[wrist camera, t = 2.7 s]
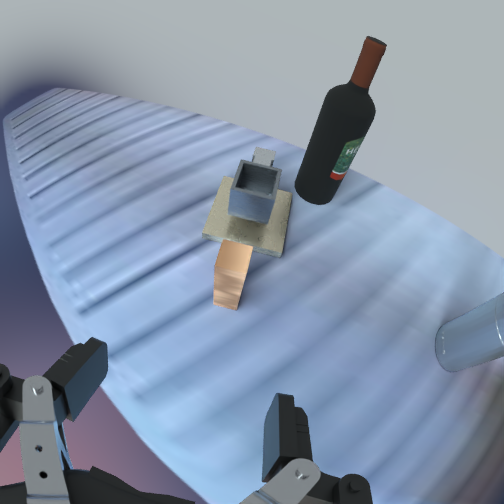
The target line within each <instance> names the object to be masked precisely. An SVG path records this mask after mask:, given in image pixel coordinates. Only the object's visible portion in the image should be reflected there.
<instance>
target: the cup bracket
mask: <svg viewBox="0 0 504 504" xmlns="http://www.w3.org/2000/svg"><path fill="white" fill-rule="evenodd" d="M275 153H276V152H275V151H271V150H267V149H263V148H259V147H256V148H255V151H254V154H253V159H252V162H249V161H245V160H241V161H240V164H239V166H238V169H237V172H236V175H235V177H234V178H230V177H226V176H224V177H223V180H222V182H221V185H220V187H219V190H218V192H217V195H216V198H215V200H214V203H213V206H212V208H211V211H210V213H209V216H208V219H207V221H206V224H205V227H204V230H203V232H202V238H204V239H208V240H212V241H216V242H220V243H222V241H223V239H225V240H229V241H233V242H237V243H241V244H245V245H249V246H253V249H252V251H255V252H259V253H263V254H267V255H271V256H275V257H279V258H280V256H281V254H282V250H283V245H284V239H285V233H286V228H287V222H288V216H289V211H290V205H291V199H292V193H290V192H286V191H283V190H279V189H278V185H279V181H280V176H281V171H282V170H281V169H278V168H274V167H272V165H273V161H274V157H275Z"/></svg>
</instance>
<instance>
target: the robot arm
mask: <svg viewBox="0 0 504 504" xmlns="http://www.w3.org/2000/svg"><path fill="white" fill-rule="evenodd" d="M435 348H436V355H437V358H438V361H439V362H440V364H441V366H442V367H443V368H444V369H445V370H447V371H450V372H455V371H459V370H463V369H466V368H470V367H473V366H476V365H479V364H483V363H486V362H489V361H492V360H494V359H497V358H500V357H503V356H504V292H503V293H501V294H500V295H498V296H496V297H495V298H493V299H491V300H489V301H488V302H486V303H484V304H482V305H481V306H479V307H477V308H475V309H473V310H471V311H470V312H468V313H466V314H464V315H462V316H460V317H458V318H456V319H454V320H452V321H450V322H448V323H446V324H444V325H443V326H442V327H441V328H440V329H439V331H438V333H437V336H436V343H435ZM107 371H108V354H107V344H106V343H105V342H103V341H100V340H98V339H96V338H93V337H91V338H90V339H89V340H88V341H87V342H86V343H85V344H82V343H79V344H76V345H74V346H72V347H71V348H70V349H68V350H67V352H66V353H65V354H64V355H63V356H61V358H60V359H58V361H56V362H55V364H54V365H53V366H52V367H51V368H50V369H49V370H48V371H47V372H46V373H45V374H44V375H43V376H31V377H29V378H27V379H26V380H24V379H20V378H17V377H14V376H11V375H10V372H9V369H8V368H7V367H6V366H5V365H3V364H0V452H1V451H2V449H3V448H4V446H5V445H6V443H7V442H8V440H9V439H10V438H11V436H12V435H13V433H14V432H15V430H16V429H17V427H18V426H19V429H20V430H19V431H20V445H21V455H22V462H23V470H24V477H25V481H24V482H19V483H15V484H10V485H5V486H0V504H195V502H193V501H189V500H185V499H181V498H177V497H174V496H170V495H162V494H154V493H145V492H140V491H138V490H136V489H135V488H133V487H131V486H130V485H128V484H127V483H125V482H124V481H122V480H121V479H119V478H118V477H116V476H114V475H112V474H109V473H107V472H105V471H103V470H100V469H98V468H96V467H94V466H92V468H91V470H90V471H88V470H82V469H73V466H72V463H71V460H70V458H69V453H68V448H67V443H66V438H65V433H64V428H63V423H62V422H63V421H64V420H65V418H67V419H69V420H71V421H72V422H74V420H75V419H76V418H77V416H78V415H79V413H80V412H81V410H82V409H83V408H84V406H85V405H86V403H87V402H88V401H89V399H90V398H91V396H92V395H93V394H94V392H95V391H96V389H97V388H98V387H99V385H100V384H101V383H102V381H103V380H104V379H105V377H106V374H107ZM262 482H267V484H265V485H264V486H263V487H262V488H261V489H259V490H258V491H255V492H253V493H252V494H251V495H249V496H248V497H247V498H246V499H244V500H243V501H242V502H240V503H239V504H373V502H372V496H371V490H370V485H369V483H368V481H367V480H366V479H365V478H364V477H362V476H360V475H357V474H348V475H345V476H344V477H342V478H338V477H334V476H331V475H328V474H325V473H323V472H321V471H320V469H319V467H318V466H317V465H316V464H315V463H314V462H313V459H312V450H311V442H310V434H309V427H308V418H307V415H306V413H305V412H304V410H303V409H302V408H300V407H295V406H294V397H293V395H287V394H281V393H276V395H275V397H274V399H273V401H272V404H271V406H270V408H269V410H268V413H267V415H266V418H265V423H264V445H263V470H262Z"/></svg>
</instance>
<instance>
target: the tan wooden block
mask: <svg viewBox="0 0 504 504" xmlns="http://www.w3.org/2000/svg"><path fill="white" fill-rule="evenodd" d="M252 249H253V246H249V245H245V244H241V243H237V242H233V241H229V240H225V239H223V241H222V244H221V247H220V250H219V253H218V257H217V260H216V263H215V270H214V305H218V306H221V307H225V308H229V309H233V310H237V306H238V303H239V299H240V295H241V292H242V288H243V285H244V281H245V277H246V274H247V270H248V266H249V262H250V258H251V254H252Z"/></svg>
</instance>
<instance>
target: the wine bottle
mask: <svg viewBox="0 0 504 504" xmlns="http://www.w3.org/2000/svg"><path fill="white" fill-rule="evenodd" d="M386 46H387V45H386V44H385V43H384V42H382V41H380V40H378V39H376V38H373V37H370V36H367V37H366V40H365V41H364V44H363V48H362V51H361V53H360V56H359V58H358V61H357V64H356V66H355V69H354V72H353V74H352V77H351V79H350V81H349V82H348V83H347V84H343V85H339V86H336V87H334V88H332V89H330V90H329V92H328V93H327V95H326V97H325V100H324V103H323V105H322V108H321V111H320V114H319V117H318V119H317V122H316V125H315V128H314V131H313V133H312V136H311V139H310V142H309V144H308V147H307V150H306V153H305V156H304V158H303V161H302V164H301V167H300V169H299V172H298V175H297V178H296V180H295V189H296V192H297V193H298V194H299V196H300V197H302V198H303V199H304V200H305V201H308V202H310V203H312V204H317V205H321V204H326V203H329V202H330V201H331V200H332V198H333V196H334V194H335V193H336V191H337V189H338V187H339V185H340V183H341V182H342V180H343V178H344V176H345V174H346V172H347V170H348V168H349V166H350V164H351V162H352V160H353V159H354V157H355V155H356V153H357V151H358V149H359V147H360V145H361V143H362V141H363V139H364V137H365V136H366V134H367V132H368V129H369V127H370V126H371V123H372V122H373V120H374V116H375V112H376V110H375V105H374V103H373V101H372V99H371V97H370V96H369V94H368V91H369V86H370V84H371V81H372V80H373V77H374V75H375V72H376V70H377V68H378V66H379V63H380V61H381V58H382V56H383V55H384V53H385V50H386Z"/></svg>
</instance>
